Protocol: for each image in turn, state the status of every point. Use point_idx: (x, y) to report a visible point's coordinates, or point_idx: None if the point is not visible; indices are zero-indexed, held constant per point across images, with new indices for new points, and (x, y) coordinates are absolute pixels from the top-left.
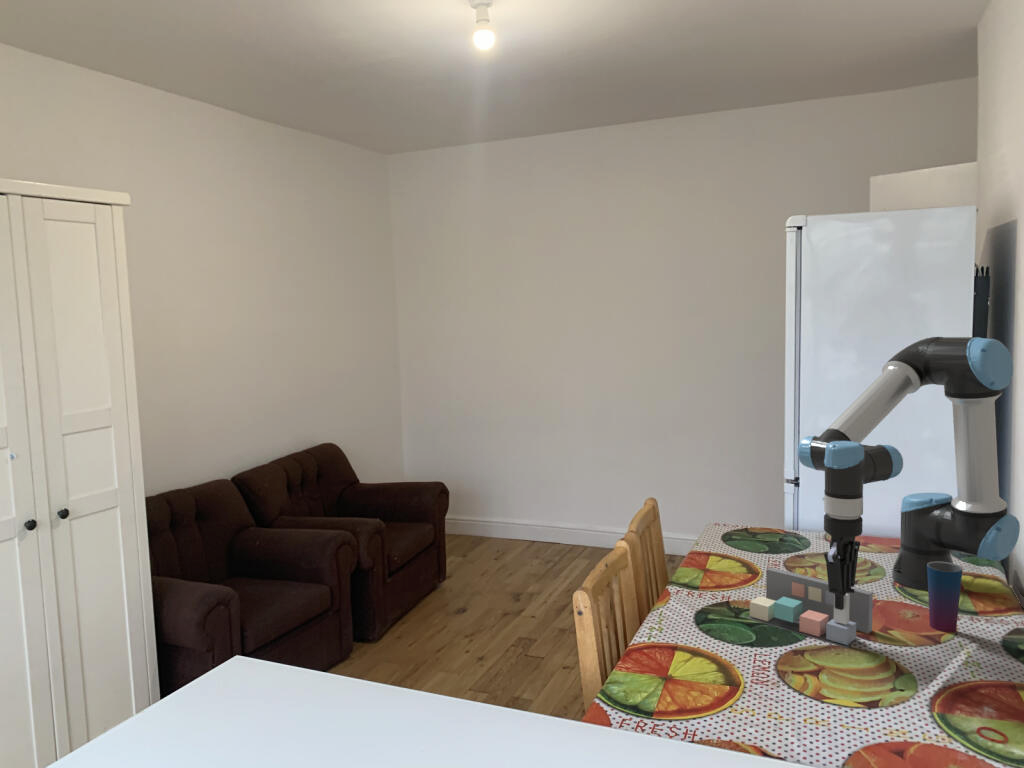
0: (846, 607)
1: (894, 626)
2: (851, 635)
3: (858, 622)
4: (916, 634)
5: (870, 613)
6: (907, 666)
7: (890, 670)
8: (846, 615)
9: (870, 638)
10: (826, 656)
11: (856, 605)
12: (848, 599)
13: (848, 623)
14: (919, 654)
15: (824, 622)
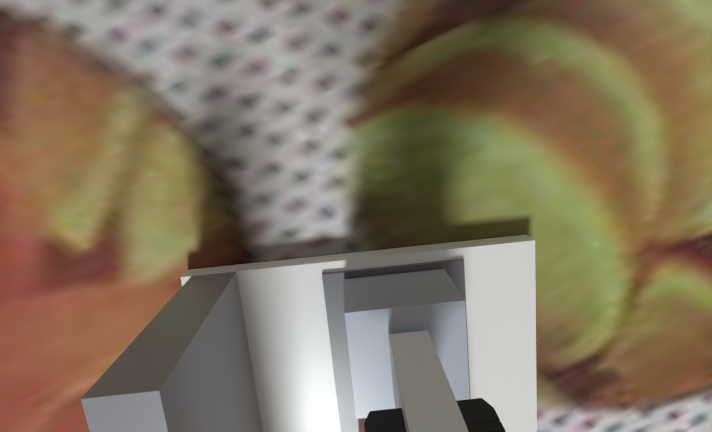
0: (452, 392)
1: (9, 251)
2: (403, 285)
3: (233, 337)
4: (4, 139)
5: (182, 316)
6: (383, 5)
7: (479, 41)
8: (438, 359)
9: (229, 260)
10: (541, 291)
11: (209, 404)
12: (429, 430)
13: (385, 335)
14: (213, 24)
15: None
